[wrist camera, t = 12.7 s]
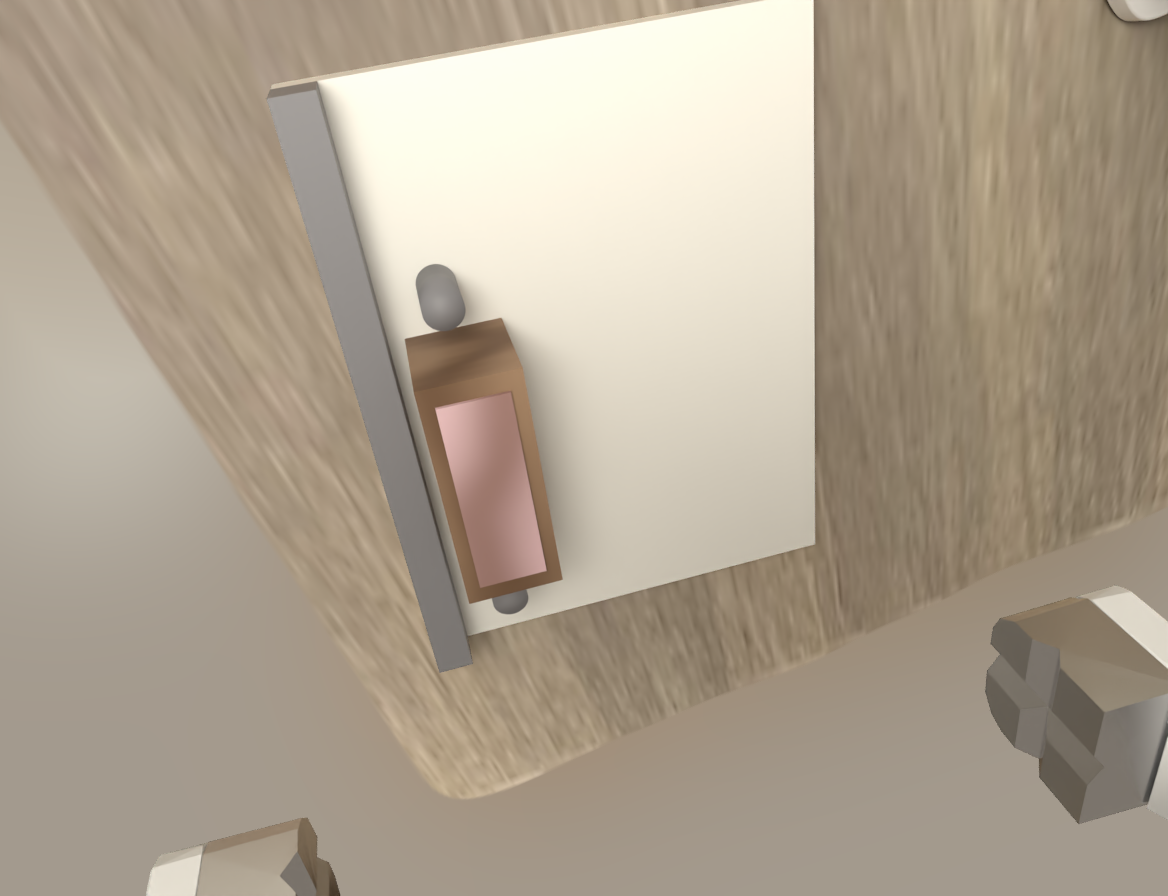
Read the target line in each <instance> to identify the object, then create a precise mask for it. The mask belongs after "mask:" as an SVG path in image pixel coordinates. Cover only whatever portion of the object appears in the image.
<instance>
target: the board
mask: <svg viewBox="0 0 1168 896" xmlns="http://www.w3.org/2000/svg"><path fill="white" fill-rule="evenodd" d="M267 102H268V105H269V108H270V111H271V115H272V118H273V121H274V125H275V128H276V131H277V135H278V138H279V141H280V145H281V148H282V151H283V155H284V158H285V161H286V165H287V168H288V171H289V175H290V178H291V181H292V184H293V188H294V191H295V194H296V198H297V201H298V204H299V208H300V211H301V214H302V218H303V221H304V224H305V228H306V231H307V234H308V238H309V241H310V244H311V247H312V251H313V254H314V257H315V261H316V264H317V267H318V271H319V274H320V277H321V281H322V284H323V287H324V291H325V294H326V297H327V301H328V304H329V307H330V310H331V314H332V317H333V320H334V324H335V327H336V330H337V334H338V337H339V340H340V344H341V347H342V350H343V354H344V357H345V360H346V364H347V367H348V370H349V374H350V377H351V380H352V383H353V387H354V390H355V393H356V397H357V400H358V403H359V407H360V410H361V413H362V417H363V420H364V423H365V427H366V430H367V433H368V437H369V440H370V443H371V446H372V450H373V453H374V456H375V460H376V463H377V466H378V470H379V473H380V476H381V480H382V483H383V486H384V490H385V493H386V496H387V500H388V503H389V506H390V510H391V513H392V516H393V519H394V523H395V526H396V529H397V533H398V536H399V539H400V543H401V546H402V549H403V553H404V556H405V559H406V563H407V566H408V569H409V573H410V576H411V579H412V582H413V586H414V589H415V592H416V596H417V599H418V602H419V606H420V609H421V612H422V616H423V619H424V622H425V626H426V629H427V632H428V636H429V639H430V642H431V646H432V649H433V652H434V655H435V659H436V662H437V665H438V669H439V672H440V673H441V672H444V671H448V670H452V669H455V668H459V667H463V666H467V665H470V664H473V662H472V656H471V651H470V646H469V640H468V636H470V635H474V634H478V633H481V632H485V631H489V630H493V629H497V628H500V627H504V626H508V625H512V624H515V623H519V622H523V621H527V620H531V619H534V618H538V617H542V616H546V615H549V614H553V613H557V612H561V611H565V610H568V609H572V608H576V607H580V606H583V605H587V604H591V603H595V602H599V601H602V600H606V599H610V598H614V597H617V596H621V595H625V594H629V593H633V592H636V591H640V590H644V589H648V588H651V587H655V586H659V585H663V584H667V583H670V582H674V581H678V580H682V579H686V578H689V577H693V576H697V575H701V574H704V573H708V572H712V571H716V570H720V569H723V568H727V567H731V566H735V565H738V564H742V563H746V562H750V561H754V560H757V559H761V558H765V557H769V556H772V555H776V554H780V553H784V552H788V551H791V550H795V549H799V548H803V547H806V546H810V545H814V544H815V340H814V21H813V0H739V1H734V2H728V3H722V4H717V5H711V6H706V7H700V8H695V9H689V10H683V11H678V12H672V13H667V14H661V15H656V16H650V17H644V18H639V19H633V20H628V21H622V22H617V23H611V24H605V25H600V26H594V27H589V28H583V29H578V30H572V31H566V32H561V33H555V34H550V35H544V36H539V37H533V38H527V39H522V40H516V41H511V42H505V43H500V44H494V45H488V46H483V47H477V48H472V49H466V50H461V51H455V52H450V53H444V54H438V55H433V56H427V57H422V58H416V59H411V60H405V61H399V62H394V63H388V64H383V65H377V66H372V67H366V68H360V69H355V70H349V71H344V72H338V73H333V74H327V75H321V76H316V77H310V78H305V79H299V80H294V81H288V82H282V83H277V84H272V87H271V89H270V92H269V94H268V97H267ZM497 318H502V320H503V322H504V325H505V327H506V330H507V332H508V334H509V337H510V339H511V341H512V344H513V346H514V348H515V351H516V353H517V355H518V358H519V360H520V363H521V365H522V367H523V372H524V377H525V383H526V388H527V393H528V398H529V404H530V409H531V414H532V420H533V425H534V430H535V435H536V441H537V446H538V451H539V457H540V462H541V467H542V472H543V478H544V483H545V488H546V494H547V499H548V504H549V509H550V515H551V520H552V525H553V531H554V536H555V541H556V546H557V552H558V557H559V562H560V567H561V573H562V578H563V580H560V581H556V582H553V583H549V584H545V585H541V586H537V587H533V588H530V589H526V590H522V591H518V592H514V593H510V594H506V595H503V596H499V597H495V598H491V599H487V600H483V601H479V602H476V603H472V604H469V601H468V597H467V593H466V590H465V586H464V582H463V578H462V574H461V571H460V567H459V563H458V559H457V555H456V552H455V548H454V544H453V540H452V536H451V533H450V529H449V525H448V521H447V517H446V514H445V510H444V506H443V502H442V498H441V495H440V491H439V487H438V483H437V479H436V476H435V472H434V468H433V464H432V460H431V457H430V453H429V449H428V445H427V441H426V438H425V434H424V430H423V426H422V422H421V419H420V415H419V411H418V407H417V403H416V400H415V396H414V392H413V386H412V380H411V374H410V368H409V362H408V356H407V350H406V344H405V339H406V338H411V337H415V336H420V335H424V334H429V333H433V332H438V331H449V330H452V329H454V328H456V327H461V326H465V325H470V324H475V323H479V322H484V321H488V320H493V319H497Z"/></svg>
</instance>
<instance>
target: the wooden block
mask: <svg viewBox="0 0 1168 896" xmlns="http://www.w3.org/2000/svg"><path fill="white" fill-rule="evenodd" d="M405 344H406V350H407V356H408V362H409V368H410V374H411V380H412V386H413V392H414V396H415V400H416V403H417V407H418V411H419V415H420V419H421V422H422V426H423V430H424V434H425V438H426V441H427V445H428V449H429V453H430V457H431V460H432V464H433V468H434V472H435V476H436V479H437V483H438V487H439V491H440V495H441V498H442V502H443V506H444V510H445V514H446V517H447V521H448V525H449V529H450V533H451V536H452V540H453V544H454V548H455V552H456V555H457V559H458V563H459V567H460V571H461V574H462V578H463V582H464V586H465V590H466V593H467V597H468V601H469V604H472V603H476V602H479V601H483V600H487V599H491V598H495V597H499V596H503V595H506V594H510V593H514V592H518V591H522V590H526V589H530V588H533V587H537V586H541V585H545V584H549V583H553V582H556V581H560V580H563V578H562V573H561V567H560V562H559V557H558V552H557V546H556V541H555V536H554V531H553V525H552V520H551V515H550V509H549V504H548V499H547V494H546V488H545V483H544V478H543V472H542V467H541V462H540V457H539V451H538V446H537V441H536V435H535V430H534V425H533V420H532V414H531V409H530V404H529V398H528V393H527V388H526V383H525V377H524V372H523V367H522V365H521V363H520V360H519V358H518V355H517V353H516V351H515V348H514V346H513V344H512V341H511V339H510V337H509V334H508V332H507V330H506V327H505V325H504V322H503V320H502V318H497V319H493V320H488V321H484V322H479V323H475V324H470V325H465V326H461V327H456V328H454V329H452V330H449V331H438V332H433V333H429V334H424V335H420V336H415V337H411V338H406V339H405Z"/></svg>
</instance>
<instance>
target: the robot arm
mask: <svg viewBox="0 0 1168 896" xmlns="http://www.w3.org/2000/svg"><path fill="white" fill-rule="evenodd" d="M1107 1H1108V3H1109V5H1110V7H1111V8H1112V10H1113V11H1114V13H1115V14H1116V15H1117V16H1118V17H1119V18H1121V19H1122V20H1125V21H1148V20H1153V19H1156V18H1159V17H1161V16H1164V15H1166V14H1168V0H1107ZM991 644H992V645H993V647H994V648H995V649H996V650H997V651H998V652H999V653H1000V655H999V656H998V658H997V659H996V660H995V662H994V663H993V664H992V665H991V666H990V668H989V669H988V670H987V678H986V690H985V692H986V695H987V699H988V703H989V706H990V710H991V713H992V715H993V717H994V719H995V721H996V722H997V724H998V726H999V728H1000V730H1001V731H1002V732H1003V734H1004V735H1005V736H1006V737H1007V739H1008V740H1009V741H1010V742H1011V743H1012V745H1013V746H1014V747H1015V748H1017V749H1019V750H1021V751H1023V752H1026V753H1028V754H1030V755H1032V756H1034V757H1036V758H1039V777H1040V779H1041V780H1042V781H1043V782H1044V783H1045V785H1046V786H1047V787H1048V788H1049V789H1050V791H1051V792H1052V793H1053V794H1054V795H1055V797H1056V798H1057V799H1058V800H1059V801H1060V802H1061V803H1062V805H1063V806H1064V807H1065V808H1066V810H1067V811H1068V812H1069V813H1070V814H1071V816H1072V817H1073V818H1074V819H1075V820H1076V822H1077V823H1078V824H1080V823H1084V822H1087V821H1090V820H1094V819H1098V818H1101V817H1105V816H1108V815H1112V814H1115V813H1119V812H1122V811H1126V810H1129V809H1133V808H1136V807H1139V806H1143V805H1147V804H1148V806H1147V809H1148V810H1150V811H1152V812H1154V813H1156V814H1157V815H1159V816H1161V817H1163V818H1164V819H1166V820H1168V622H1167V621H1166V620H1165V619H1164V618H1163V617H1161V616H1160V615H1159V614H1158V613H1157V612H1155V611H1154V610H1153V609H1152V608H1150V607H1149V606H1148V605H1147V604H1146V603H1144V602H1143V601H1142V600H1141V599H1139V598H1138V597H1137V596H1136V595H1135V594H1134V593H1132V592H1131V591H1129V590H1128V589H1125V588H1123V587H1120V586H1117V585H1115V586H1111V587H1108V588H1105V589H1101V590H1098V591H1094V592H1090V593H1087V594H1084V595H1080V596H1077V597H1075V598H1067V599H1064V600H1061V601H1057V602H1054V603H1051V604H1047V605H1044V606H1041V607H1037V608H1034V609H1030V610H1027V611H1024V612H1020V613H1017V614H1014V615H1011V616H1007V617H1004V618H1000V619H999V621H998V622H997V623H996V625H995V626H994V627H993V632H992V638H991ZM146 896H340V892H339V889H338V885H337V882H336V878H335V875H334V873H333V871H332V868H331V866H330V864H329V862H327V861H324V860H322V859H320V858H318V857H317V835H316V833H315V832H314V830H313V828H312V825H311V824H310V822H309V820H308V818H300V819H296V820H292V821H288V822H284V823H280V824H276V825H272V826H268V827H265V828H261V829H257V830H253V831H249V832H245V833H241V834H237V835H233V836H229V837H226V838H222V839H218V840H214V841H210V842H208V843H204V844H200V845H197V846H193V847H189V848H186V849H182V850H178V851H174V852H170V853H167V854H163V855H160V856H159V858H158V860H157V861H156V863H155V865H154V867H153V869H152V870H151V873H150V878H149V883H148V888H147V893H146Z"/></svg>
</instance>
